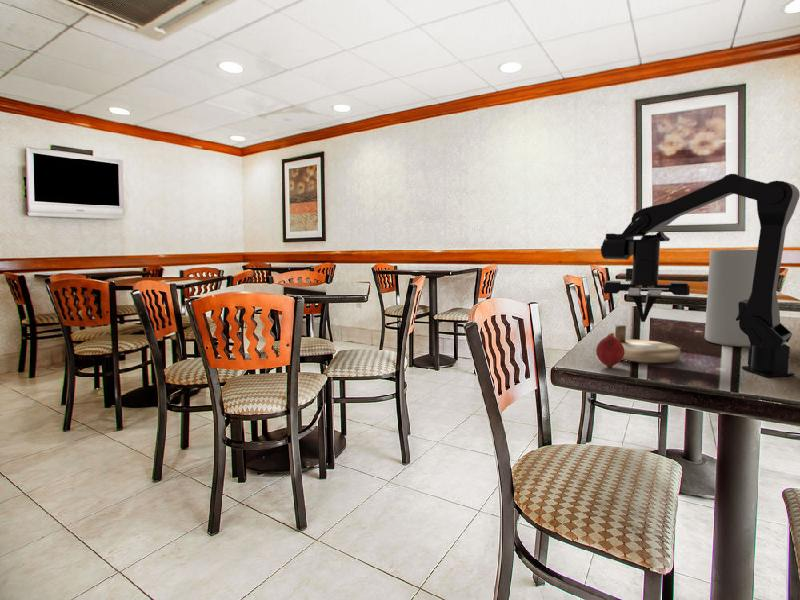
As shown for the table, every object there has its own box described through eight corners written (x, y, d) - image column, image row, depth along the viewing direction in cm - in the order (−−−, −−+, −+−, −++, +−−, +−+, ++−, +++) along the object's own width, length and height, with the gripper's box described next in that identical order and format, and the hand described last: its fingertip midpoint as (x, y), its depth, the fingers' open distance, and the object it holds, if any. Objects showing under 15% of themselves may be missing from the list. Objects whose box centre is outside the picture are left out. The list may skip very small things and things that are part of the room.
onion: (620, 372, 100) (621, 336, 99) (592, 368, 103) (593, 333, 102) (626, 366, 104) (627, 331, 103) (599, 362, 108) (600, 329, 107)
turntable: (695, 357, 107) (697, 333, 106) (644, 365, 101) (645, 340, 101) (638, 343, 122) (639, 322, 121) (591, 350, 116) (592, 327, 115)
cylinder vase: (703, 335, 134) (708, 250, 130) (757, 339, 127) (764, 249, 124) (705, 344, 123) (711, 251, 120) (764, 349, 117) (772, 251, 113)
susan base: (681, 362, 106) (681, 360, 106) (632, 365, 105) (632, 362, 105) (649, 350, 118) (649, 348, 118) (604, 352, 117) (604, 350, 117)
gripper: (685, 258, 117) (681, 318, 119) (605, 258, 125) (603, 315, 127) (691, 260, 107) (687, 326, 109) (604, 260, 115) (602, 321, 117)
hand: (642, 321), depth 116 cm, fingers closed
